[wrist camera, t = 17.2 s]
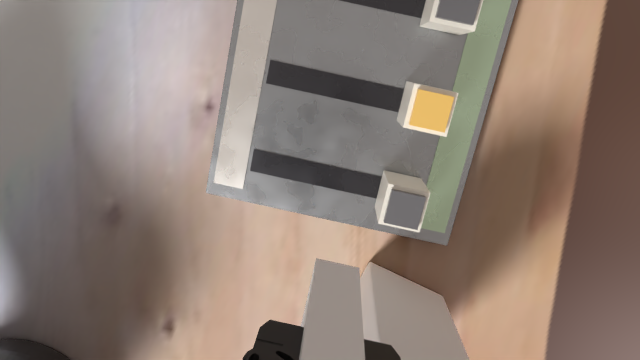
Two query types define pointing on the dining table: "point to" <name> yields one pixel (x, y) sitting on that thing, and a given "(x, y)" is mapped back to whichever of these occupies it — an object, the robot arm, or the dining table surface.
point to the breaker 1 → (401, 201)
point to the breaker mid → (426, 108)
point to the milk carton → (407, 317)
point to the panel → (349, 106)
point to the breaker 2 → (451, 15)
